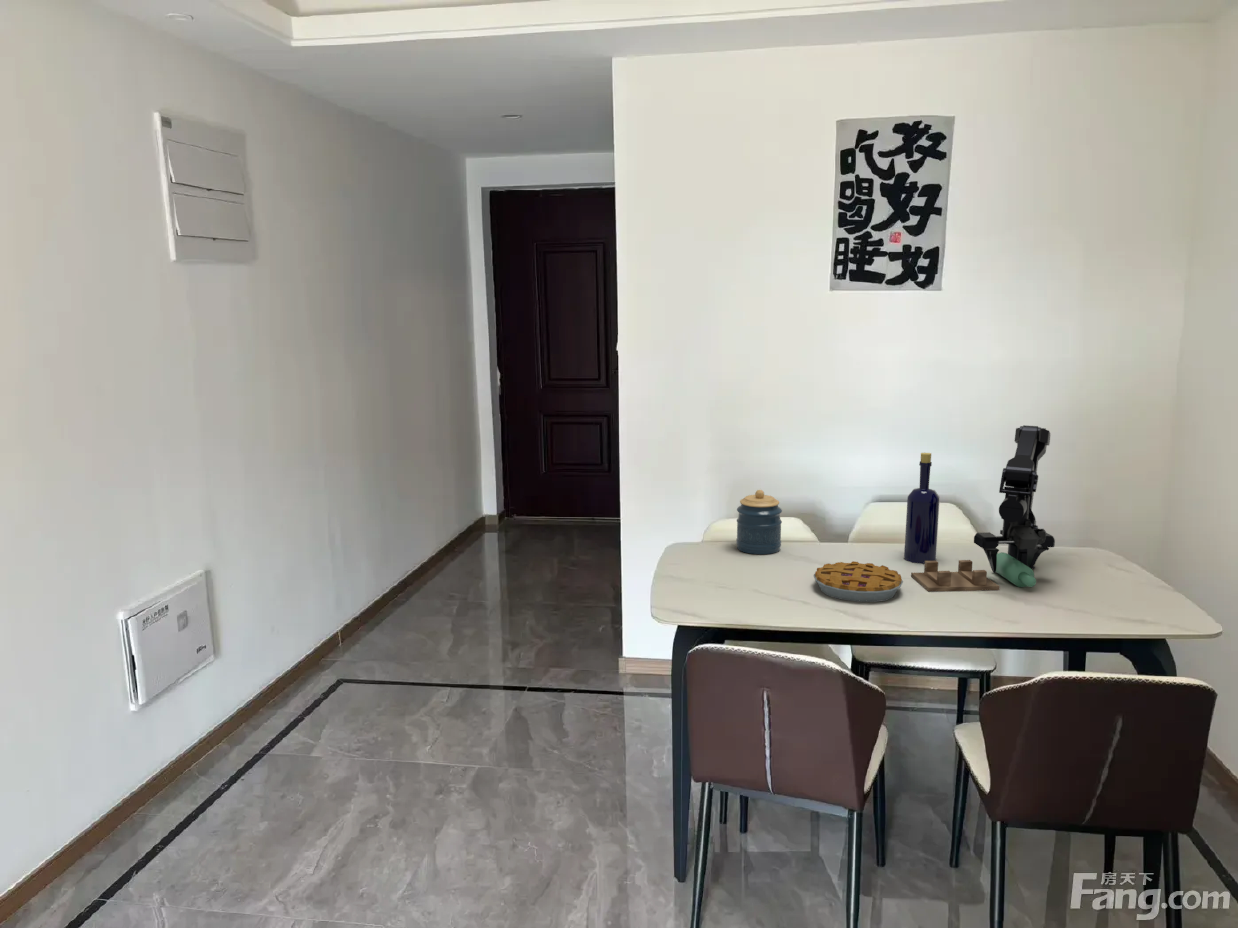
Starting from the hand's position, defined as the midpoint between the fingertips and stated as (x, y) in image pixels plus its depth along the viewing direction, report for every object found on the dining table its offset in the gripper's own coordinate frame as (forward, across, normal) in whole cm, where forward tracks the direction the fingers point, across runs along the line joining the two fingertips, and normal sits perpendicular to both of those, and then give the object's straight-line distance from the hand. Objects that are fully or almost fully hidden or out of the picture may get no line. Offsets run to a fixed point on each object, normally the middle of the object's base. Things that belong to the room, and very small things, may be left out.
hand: (1011, 571), depth 229 cm
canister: (+2, -60, +32) cm, 68 cm away
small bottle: (+2, 0, -2) cm, 3 cm away
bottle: (+2, -17, +19) cm, 26 cm away
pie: (+2, -42, -5) cm, 42 cm away
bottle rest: (+2, -16, -2) cm, 16 cm away
